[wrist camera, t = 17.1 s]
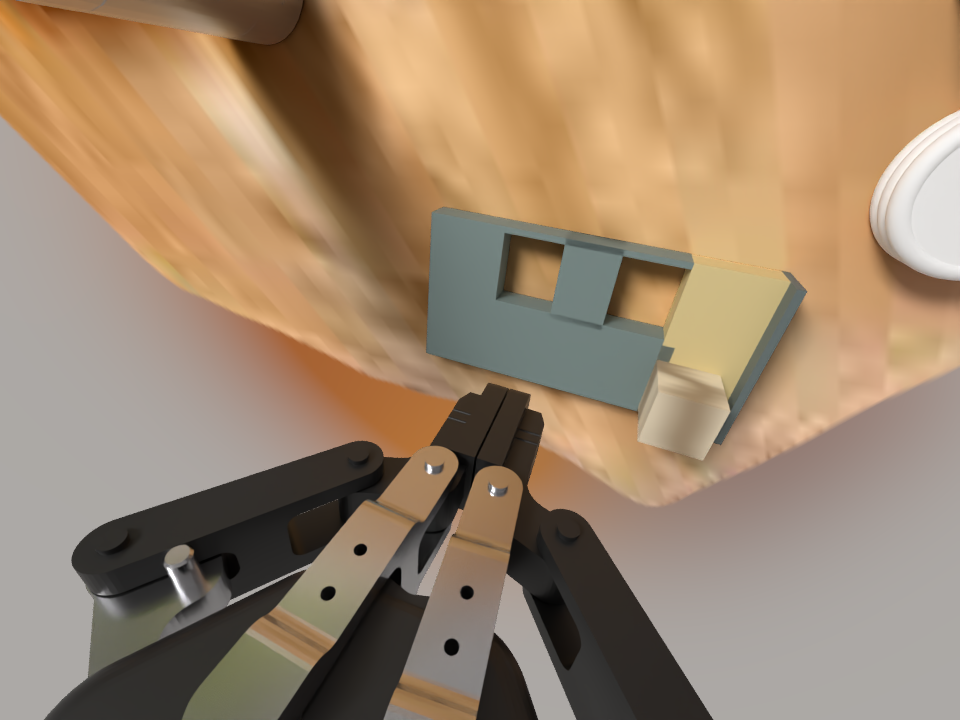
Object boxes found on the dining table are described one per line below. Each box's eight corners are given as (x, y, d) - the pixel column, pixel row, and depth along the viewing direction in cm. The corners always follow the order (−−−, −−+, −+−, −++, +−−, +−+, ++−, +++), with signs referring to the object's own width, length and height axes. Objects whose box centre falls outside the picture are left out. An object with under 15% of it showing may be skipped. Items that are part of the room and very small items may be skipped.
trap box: (436, 342, 45) (419, 359, 42) (443, 206, 37) (424, 215, 34) (714, 416, 39) (720, 444, 35) (790, 272, 31) (807, 291, 28)
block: (638, 405, 38) (637, 441, 34) (657, 359, 35) (658, 391, 31) (696, 422, 37) (702, 460, 33) (720, 375, 34) (730, 411, 30)
